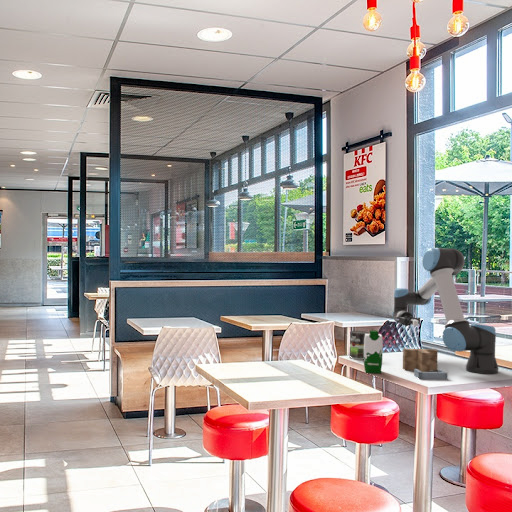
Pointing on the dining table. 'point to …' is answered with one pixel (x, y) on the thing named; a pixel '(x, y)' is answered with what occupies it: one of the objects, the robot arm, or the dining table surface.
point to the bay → (431, 374)
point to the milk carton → (373, 352)
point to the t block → (420, 359)
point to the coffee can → (357, 344)
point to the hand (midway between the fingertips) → (416, 323)
